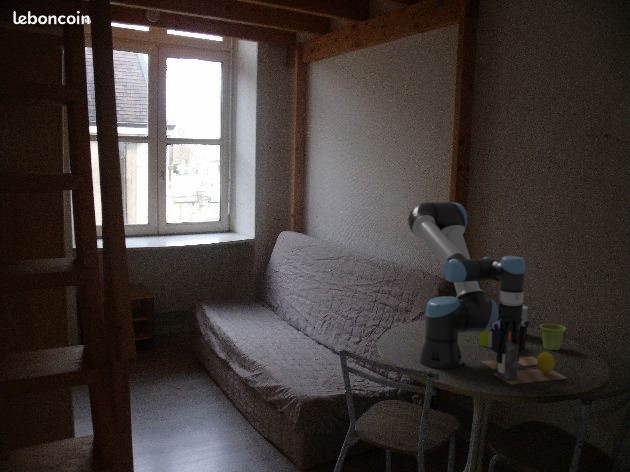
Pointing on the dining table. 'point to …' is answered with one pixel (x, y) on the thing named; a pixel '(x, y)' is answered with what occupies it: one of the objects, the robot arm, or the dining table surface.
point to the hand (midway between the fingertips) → (507, 371)
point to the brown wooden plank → (522, 361)
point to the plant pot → (552, 336)
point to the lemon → (545, 362)
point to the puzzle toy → (490, 337)
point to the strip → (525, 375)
